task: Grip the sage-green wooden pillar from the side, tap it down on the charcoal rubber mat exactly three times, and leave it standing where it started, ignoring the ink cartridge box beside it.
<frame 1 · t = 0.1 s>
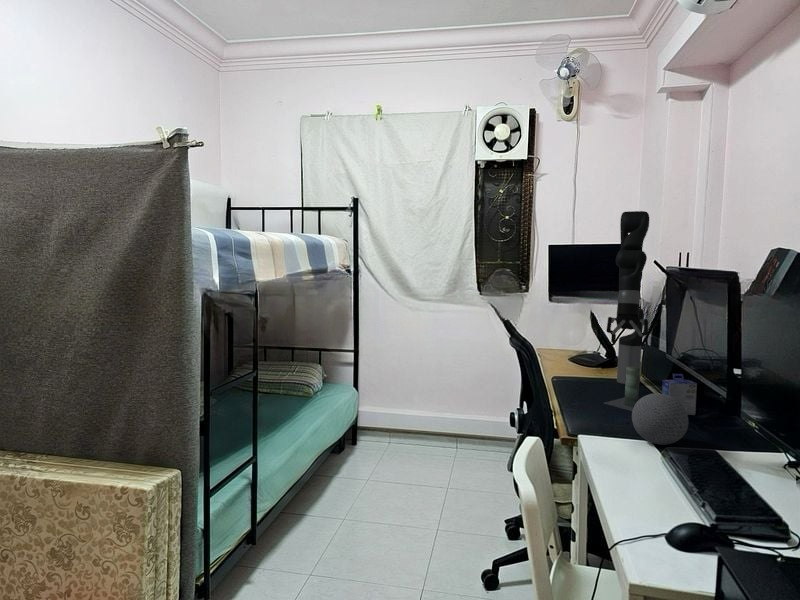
hand: (626, 345, 189), 22 cm above the table, tool pointing down, fingers open, 8 cm apart
ink cartridge box: (677, 415, 177), on the table
tapping mat: (630, 407, 185), on the table
green pillar: (631, 404, 185), point 1 cm above the table, touching tapping mat
decorative ball: (658, 443, 150), on the table
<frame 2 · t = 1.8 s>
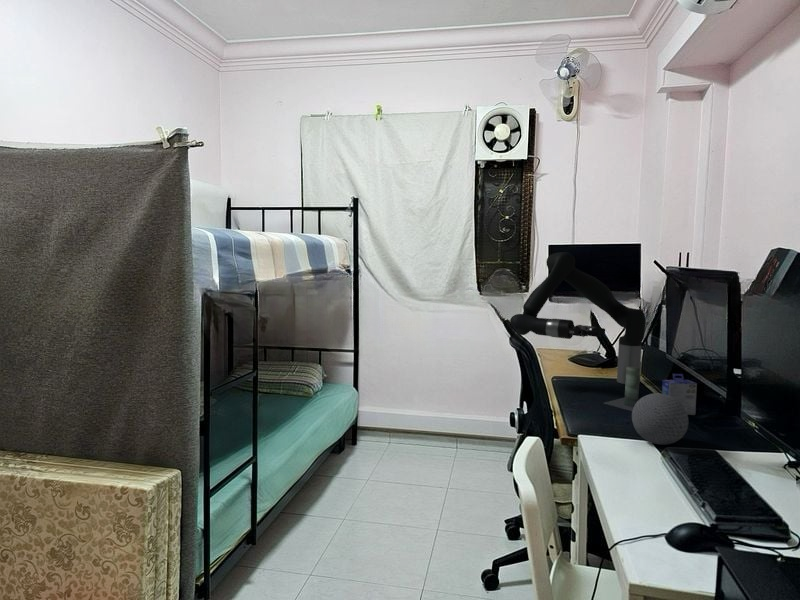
hand: (602, 332, 190), 27 cm above the table, tool horizontal, fingers open, 8 cm apart
nothing on the table moved.
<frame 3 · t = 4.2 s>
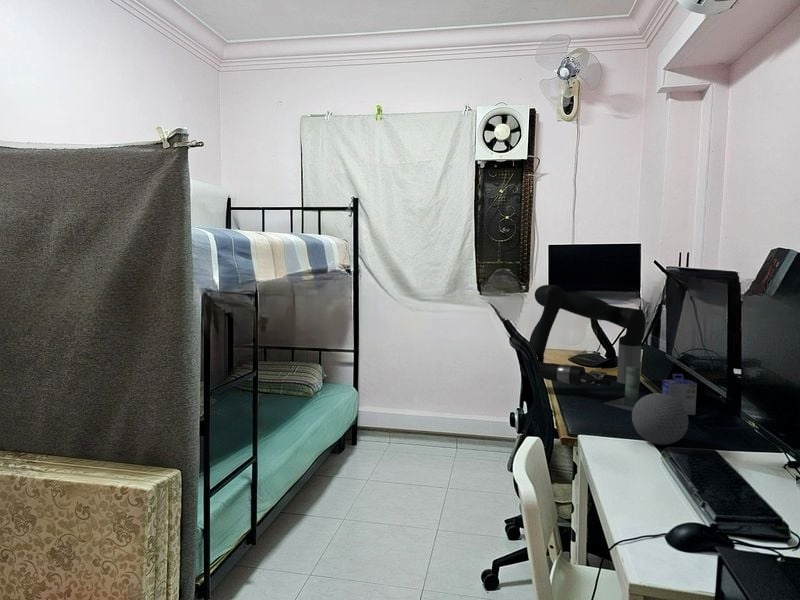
hand: (614, 380, 188), 9 cm above the table, tool horizontal, fingers open, 8 cm apart
nothing on the table moved.
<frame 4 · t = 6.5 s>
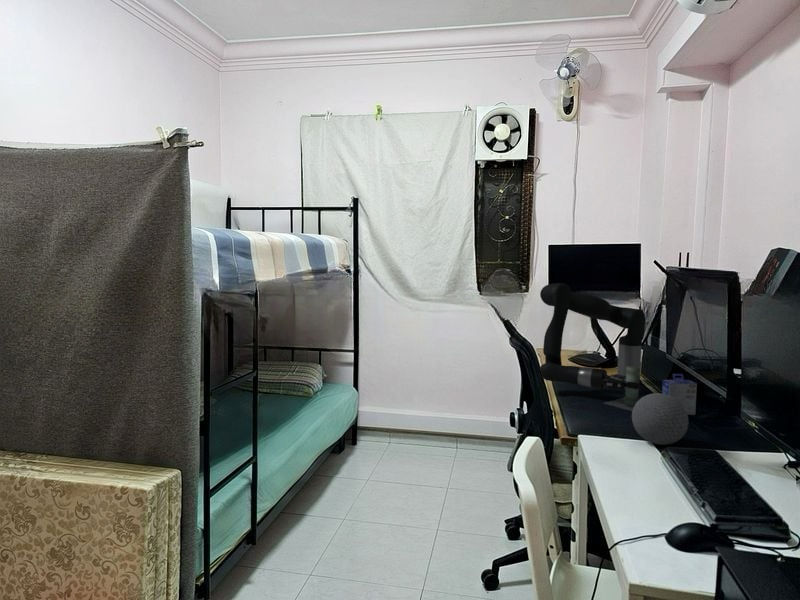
hand: (640, 384, 183), 9 cm above the table, tool horizontal, fingers closed on green pillar, 4 cm apart
green pillar: (631, 404, 185), point 1 cm above the table, touching gripper, tapping mat
everything else where it was.
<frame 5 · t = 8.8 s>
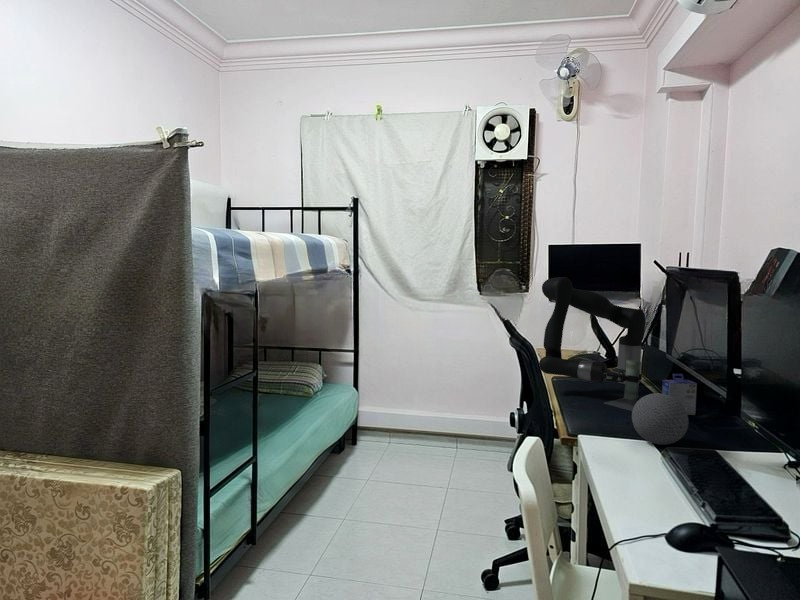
hand: (639, 378, 183), 11 cm above the table, tool horizontal, fingers closed on green pillar, 4 cm apart
green pillar: (630, 398, 185), point 3 cm above the table, touching gripper
everything else where it was.
when the fingers open (9 cm above the table, at t = 11.1 s): green pillar stays where it is, resting on tapping mat.
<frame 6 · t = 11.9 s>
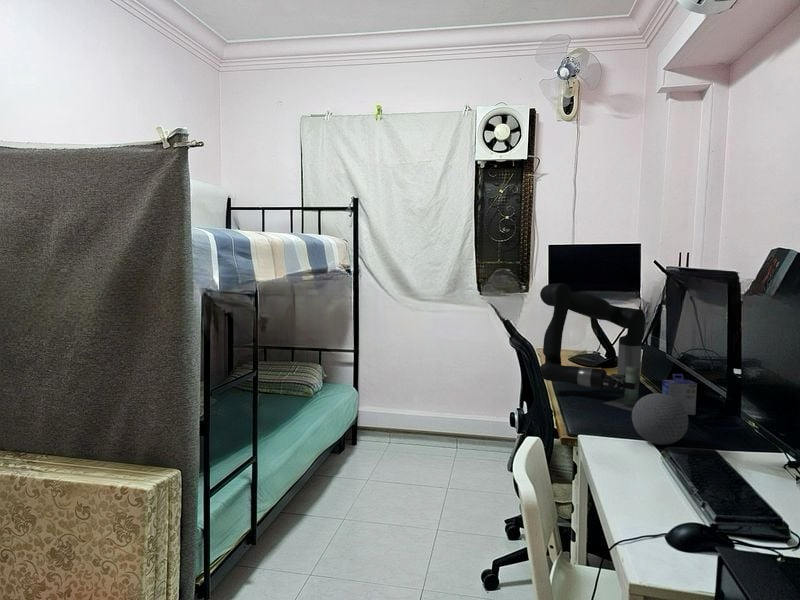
hand: (637, 384, 183), 9 cm above the table, tool horizontal, fingers open, 8 cm apart
green pillar: (630, 404, 185), point 1 cm above the table, touching tapping mat
everything else where it was.
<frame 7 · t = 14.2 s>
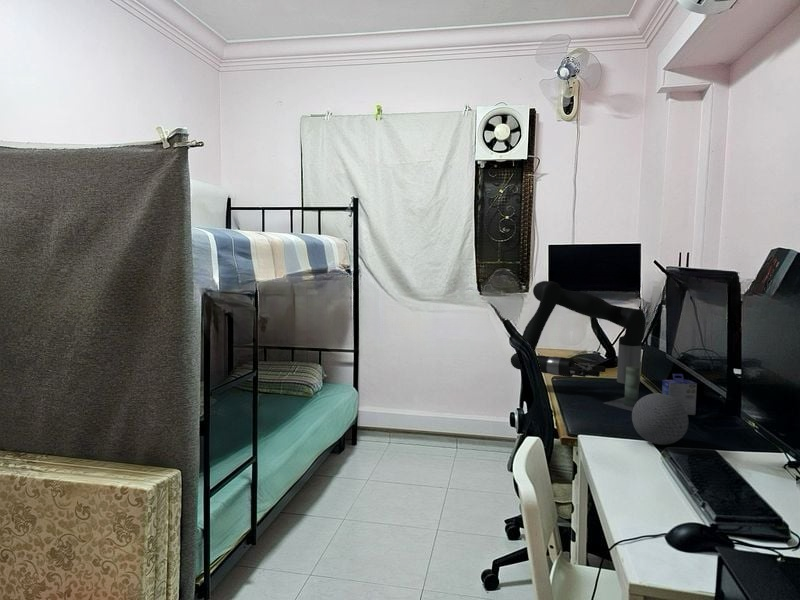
hand: (602, 371, 192), 12 cm above the table, tool horizontal, fingers open, 8 cm apart
nothing on the table moved.
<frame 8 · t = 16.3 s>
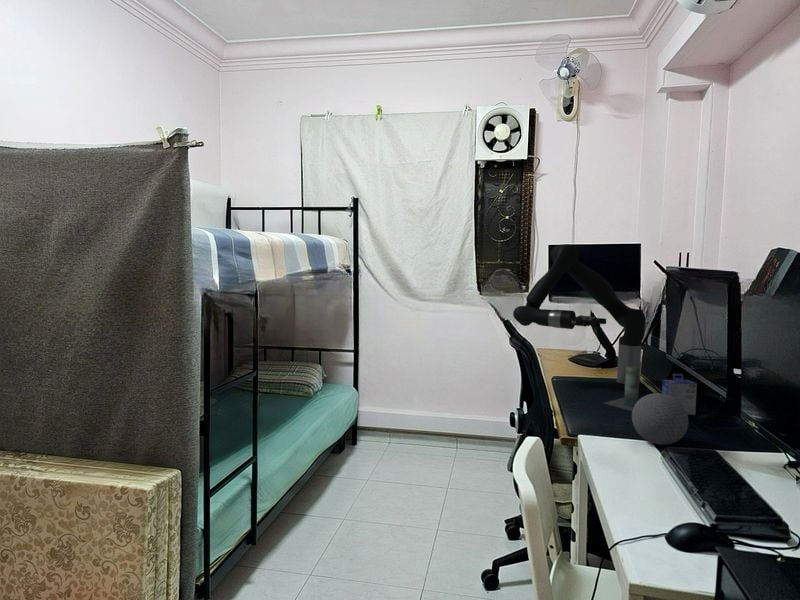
hand: (603, 322, 195), 30 cm above the table, tool horizontal, fingers open, 8 cm apart
nothing on the table moved.
at the end: green pillar moved 0.1 cm from its start; green pillar tilted 0°; the gripper is holding nothing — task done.
